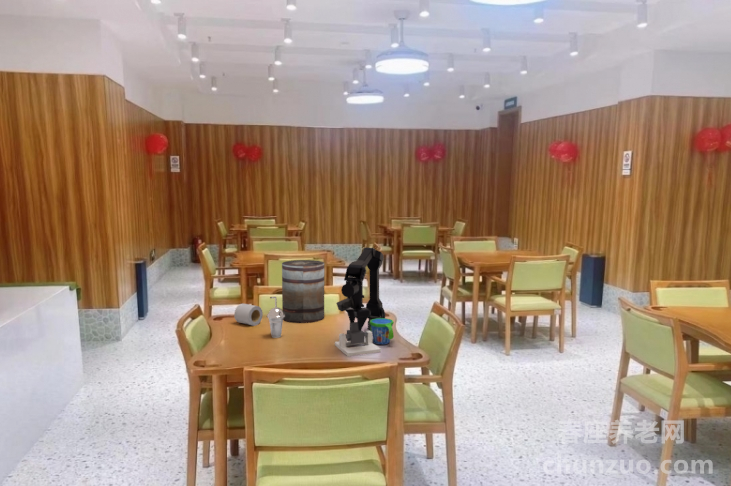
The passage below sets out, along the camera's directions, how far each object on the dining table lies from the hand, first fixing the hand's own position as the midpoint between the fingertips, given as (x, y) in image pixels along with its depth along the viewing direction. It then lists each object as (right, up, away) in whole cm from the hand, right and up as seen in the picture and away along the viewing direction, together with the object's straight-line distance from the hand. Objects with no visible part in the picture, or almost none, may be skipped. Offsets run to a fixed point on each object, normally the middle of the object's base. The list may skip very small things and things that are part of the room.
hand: (355, 327), depth 217 cm
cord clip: (0, -6, +1) cm, 6 cm away
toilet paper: (-56, -5, +38) cm, 68 cm away
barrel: (-29, -4, +51) cm, 59 cm away
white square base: (+1, -9, -1) cm, 9 cm away
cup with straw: (-38, -7, +16) cm, 42 cm away
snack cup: (+12, -9, +8) cm, 17 cm away
